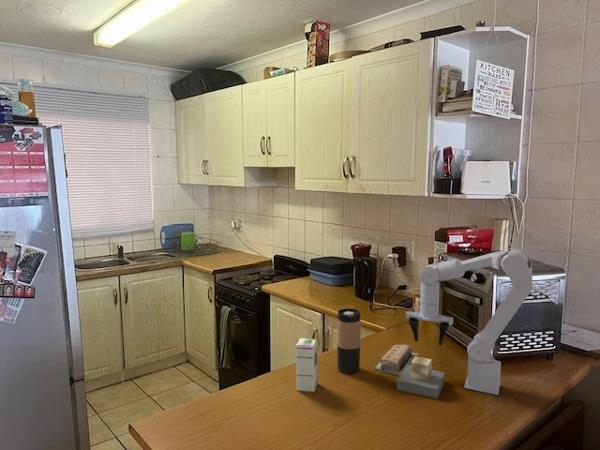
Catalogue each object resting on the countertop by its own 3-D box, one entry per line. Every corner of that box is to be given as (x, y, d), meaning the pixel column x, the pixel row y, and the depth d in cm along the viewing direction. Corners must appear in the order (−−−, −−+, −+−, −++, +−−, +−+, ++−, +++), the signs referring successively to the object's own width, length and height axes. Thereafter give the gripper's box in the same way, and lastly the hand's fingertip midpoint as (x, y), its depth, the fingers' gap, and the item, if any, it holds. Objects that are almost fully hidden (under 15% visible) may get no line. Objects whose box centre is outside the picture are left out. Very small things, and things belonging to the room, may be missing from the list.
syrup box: (314, 392, 129) (314, 345, 128) (295, 390, 131) (295, 344, 129) (317, 383, 135) (317, 338, 133) (299, 381, 136) (299, 337, 135)
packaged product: (404, 364, 139) (374, 357, 144) (403, 378, 139) (374, 371, 144) (418, 344, 154) (391, 339, 159) (418, 357, 155) (391, 352, 160)
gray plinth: (444, 381, 136) (445, 372, 135) (437, 398, 125) (437, 389, 125) (406, 373, 141) (406, 364, 141) (396, 389, 131) (396, 380, 130)
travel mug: (345, 362, 150) (345, 306, 148) (364, 368, 145) (365, 311, 143) (332, 370, 144) (332, 312, 142) (352, 377, 139) (352, 317, 137)
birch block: (431, 374, 134) (431, 359, 133) (427, 381, 129) (428, 365, 129) (415, 371, 136) (415, 356, 136) (410, 377, 132) (411, 362, 131)
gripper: (404, 302, 139) (403, 342, 140) (451, 308, 132) (449, 350, 134) (409, 296, 145) (408, 335, 146) (454, 302, 138) (453, 343, 140)
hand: (428, 342), depth 140 cm, fingers open, 7 cm apart
